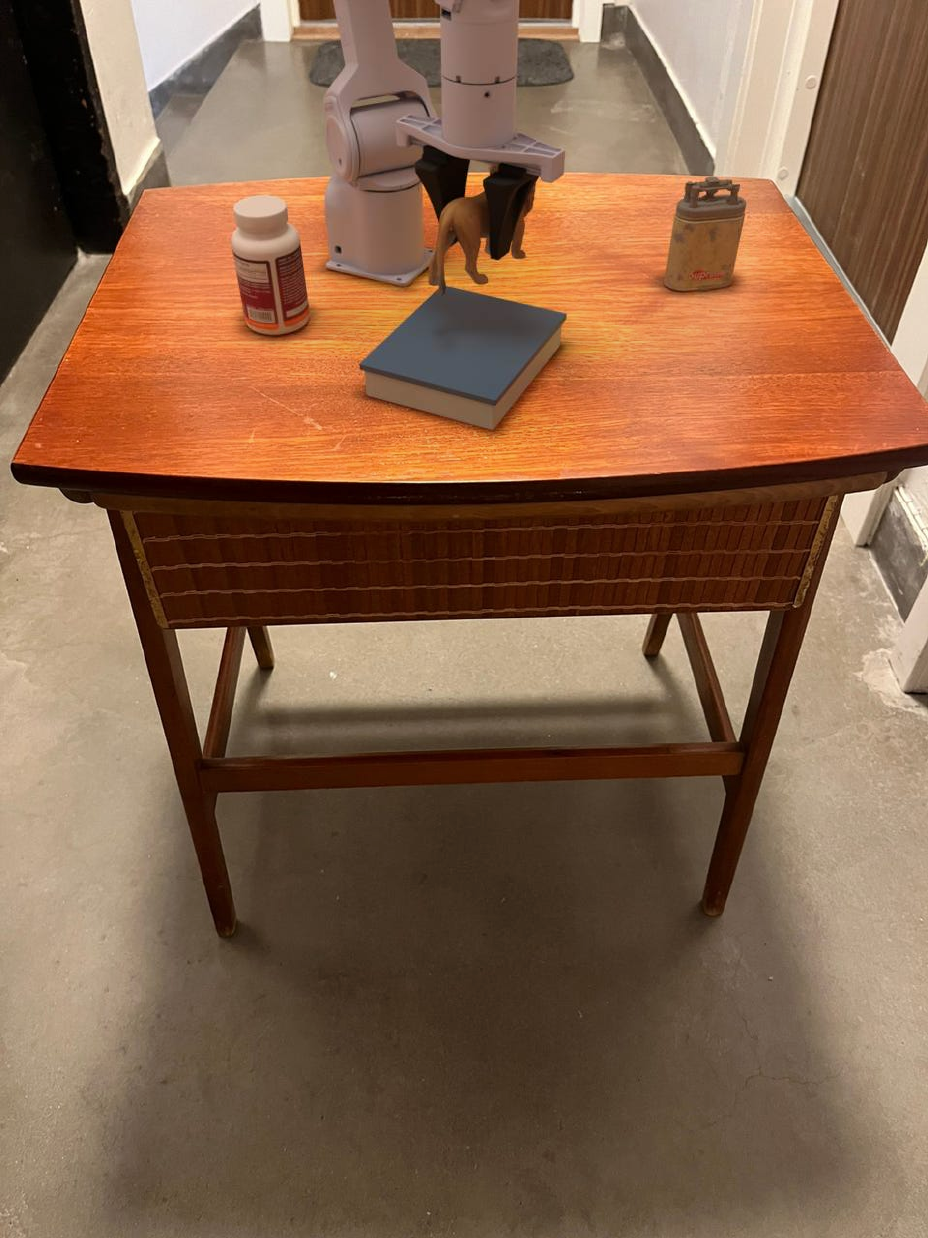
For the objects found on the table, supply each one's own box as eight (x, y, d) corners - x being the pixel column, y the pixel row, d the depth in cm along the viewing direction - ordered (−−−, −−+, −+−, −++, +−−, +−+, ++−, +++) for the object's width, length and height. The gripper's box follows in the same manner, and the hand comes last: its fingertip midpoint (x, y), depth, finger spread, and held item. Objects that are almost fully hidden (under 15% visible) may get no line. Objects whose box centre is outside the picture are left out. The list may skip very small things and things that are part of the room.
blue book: (361, 396, 85) (358, 363, 82) (442, 315, 94) (442, 284, 92) (494, 433, 81) (495, 400, 78) (564, 345, 91) (567, 313, 88)
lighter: (723, 271, 101) (743, 171, 94) (738, 288, 98) (760, 187, 91) (658, 277, 100) (673, 177, 93) (671, 295, 97) (687, 193, 90)
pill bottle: (301, 300, 96) (287, 186, 89) (317, 330, 92) (303, 214, 84) (239, 311, 95) (218, 196, 87) (252, 342, 91) (232, 224, 83)
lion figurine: (494, 230, 91) (495, 127, 84) (546, 241, 89) (551, 136, 83) (413, 295, 81) (408, 184, 75) (470, 309, 80) (469, 196, 73)
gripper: (589, 75, 73) (574, 250, 83) (428, 43, 79) (432, 212, 89) (543, 102, 69) (533, 284, 79) (376, 67, 75) (386, 241, 84)
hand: (476, 248), depth 83 cm, fingers closed on lion figurine, 4 cm apart
